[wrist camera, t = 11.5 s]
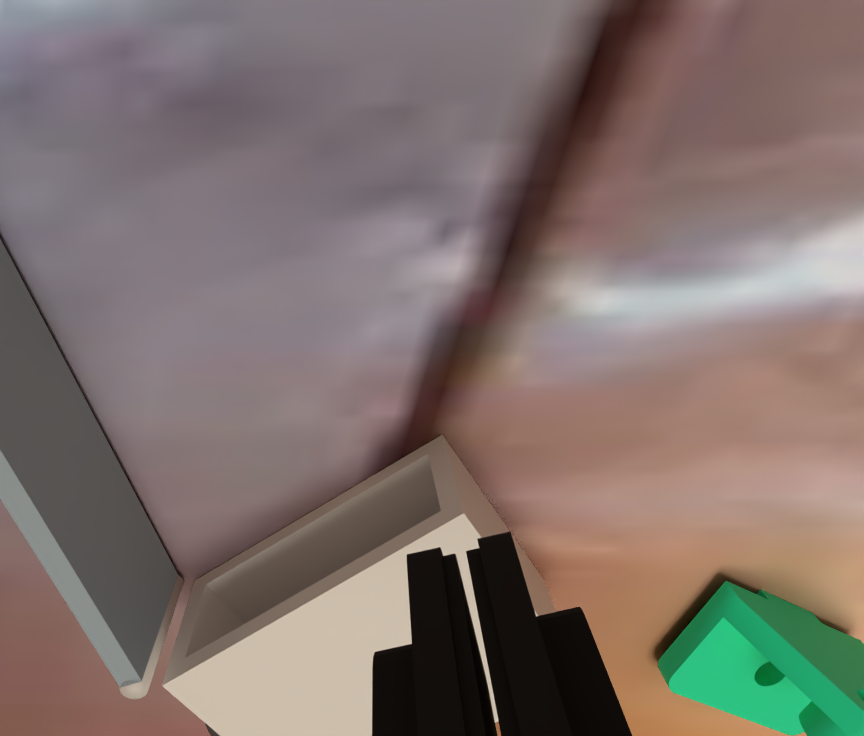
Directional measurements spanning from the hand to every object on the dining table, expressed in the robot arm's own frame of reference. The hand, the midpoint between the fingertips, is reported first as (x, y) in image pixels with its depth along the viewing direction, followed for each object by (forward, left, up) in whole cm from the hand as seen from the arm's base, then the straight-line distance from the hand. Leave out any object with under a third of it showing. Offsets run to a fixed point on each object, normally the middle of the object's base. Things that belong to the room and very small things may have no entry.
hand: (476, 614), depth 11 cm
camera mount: (-6, +34, -23) cm, 42 cm away
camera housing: (+11, +15, -22) cm, 29 cm away
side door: (+16, -5, -22) cm, 28 cm away
